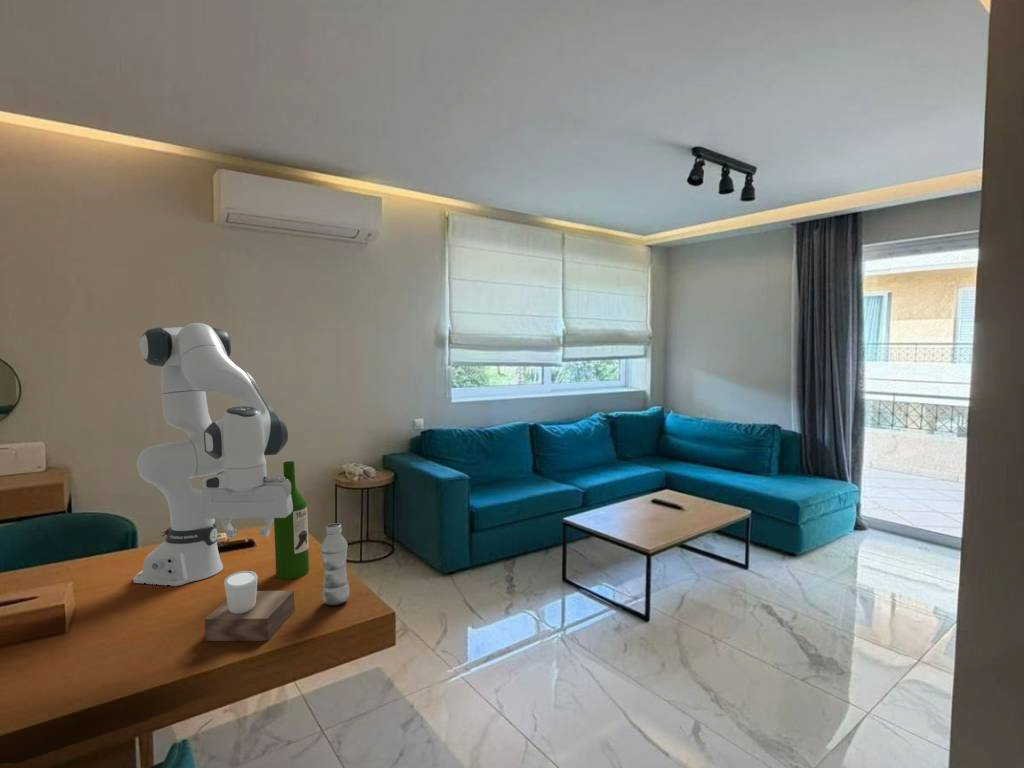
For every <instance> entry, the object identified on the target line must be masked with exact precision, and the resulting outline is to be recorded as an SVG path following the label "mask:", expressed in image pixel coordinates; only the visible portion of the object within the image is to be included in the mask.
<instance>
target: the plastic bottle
mask: <svg viewBox="0 0 1024 768" xmlns="http://www.w3.org/2000/svg"><path fill="white" fill-rule="evenodd" d="M342 532H343V531H342V523H339V522H338V523H337V522H335V523H333V522H332V523H329V524H327V525H326V526H325V535H326V536H325V538H324V539H323V540H322V542H321V544H320V554H321V559H322V565H323V585H322V601H323V602H324V604H326V605H329V606H338V605H341V604H343V603H345V602H347V601H348V599H349V597H350V585H349V582H348V576H347V554H348V553H347V552H348V541H347V539H346V538H345V537H344V536H343V535H342V534H341V533H342Z"/></svg>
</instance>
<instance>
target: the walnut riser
mask: <svg viewBox="0 0 1024 768" xmlns="http://www.w3.org/2000/svg"><path fill="white" fill-rule="evenodd" d="M294 612H295V590H257V592H256V604H255V606H254V607H253V608H252V609H251V610H249V611H247V612H244V613H237V614H236V613H231V612H230V611H229V609H228V604H227V599H226V600H225V601H224V602H223V603H222V604H221V605H219V606H218V607H216V609H215V610H213V611H212V612H211V613H210V614H209V615H208V616H206V618H204V635H205V639H204V640H205V642H236V641H237V642H238V641H239V642H240V641H243V642H247V641H248V642H249V641H255V642H256V641H262V642H264V641H270V640H271V639H272V637H273V636H274V635H275V634H276V633H277V631H278V630H279V629H280V628H281V626H282V625H283V624H284V623H285V622H286V621H287V620H288V619H289V618H290V616H292V615H293V613H294Z"/></svg>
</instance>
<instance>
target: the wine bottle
mask: <svg viewBox="0 0 1024 768" xmlns="http://www.w3.org/2000/svg"><path fill="white" fill-rule="evenodd" d="M282 465H283V477H284V478H285V479H287V480H289V481H290V482H291V497H292V503H293V511H292V512H291V514H290V515H288V516H287V517H285V518H274V521H273V527H274V528H273V530H274V551H275V552H274V555H275V558H274V559H275V575H276V577H277V579H280V580H294V579H293V578H295V579H298V578H297V577H299V578H301V577H300V576H302V577H304V576H306V575H307V574H309V572H308V571H310V554H309V529H308V527H309V526H308V525H309V524H308V523H309V522H308V505H307V501H306V500H305V498H304V497H303V495H302V494H301V493H300V491H299V490H298V488H297V486H296V471H295V461H292V460H291V461H290V460H289V461H284V462H283V463H282ZM284 482H285V481H284ZM306 573H307V574H306ZM305 574H306V575H305ZM303 575H304V576H303Z"/></svg>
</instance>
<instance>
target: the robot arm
mask: <svg viewBox="0 0 1024 768" xmlns="http://www.w3.org/2000/svg"><path fill="white" fill-rule="evenodd" d="M139 349H140V352H141V353H140V354H141V355H142V358H143V359H144V362H146V363H147V364H149V365H150V366H156V367H162V368H161V376H160V391H161V393H160V394H161V403H162V414H163V420H164V421H165V423H166V424H167V425H169V427H170V426H171V427H173V428H174V429H178V430H182V431H184V432H185V433H186V434H187V436H188V440H182V441H174V442H173V441H172V442H165V443H164V442H163V443H161V444H155V445H153V446H150V447H146V448H144V449H143V450H142V451H141V452H140V454H139V455H138V457H137V461H136V470H137V473H138V475H139V476H140V478H141V479H142V480H143V481H145V482H147V483H149V484H150V485H153V486H155V487H156V488H157V489H158V490H160V491H161V493H162V494H163V495H164V498H165V499H166V501H167V505H168V509H169V517H170V527H168V528H167V529H165V531H162V532H161V534H162V535H161V537H165V539H164V541H163V542H162V543H161V544H159V545H158V546H157V547H156V548H154V549H153V550H152V551H151V552H150V553H148V554H147V555H146V556H145V558H144V561H143V563H142V564H143V565H142V570H141V571H139V572H138V573H137V574H136V575H134V577H133V580H132V581H133V583H134V584H144V583H146V585H156V584H157V586H158V585H159V586H167V585H170V586H169V587H177V586H182V585H185V584H188V583H191V582H195V581H200V580H204V579H207V578H211V577H213V576H215V575H217V574H218V573H220V572H222V570H223V569H224V564H223V562H222V559H221V557H220V556H221V555H220V552H219V549H218V547H219V546H218V524H217V521H216V520H220V524H221V526H222V527H223V528H224V531H225V535H226V538H235V537H236V536H237V534H238V533H237V527H233V525H232V523H231V521H232V519H234V520H235V519H239V520H240V519H263V522H264V523H265V526H264V527H262V528H260V529H259V533H260V534H259V537H260V538H268V537H269V536H270V534H271V529H270V528H271V527H272V525H273V524H274V518H285V517H287V516H288V515H290V514H291V512H292V511H293V503H292V497H291V482H290V481H289V480H287V479H285V478H284V476H278V477H276V476H267V475H268V473H267V471H268V469H267V459H266V457H265V456H275V455H277V454H279V452H282V450H283V449H284V447H285V446H286V445H287V443H288V441H289V432H288V428H287V425H286V424H285V422H284V420H283V419H282V418H281V417H280V416H279V415H278V414H277V413H276V411H275V410H274V409H273V407H272V405H271V404H270V403H269V401H268V400H267V398H266V395H264V393H263V392H262V390H261V389H260V386H259V385H258V384H257V382H256V381H255V379H254V378H253V377H252V375H251V374H250V372H248V371H246V370H245V369H242V368H241V367H240V366H238V365H237V364H236V363H235V362H234V361H233V360H231V358H230V356H231V353H232V352H231V351H232V342H231V339H230V335H229V333H227V332H226V330H225V329H223V328H222V329H221V328H216V327H211V325H209V324H206V323H202V322H194V323H189V324H186V325H185V326H184V327H183V326H180V327H179V326H178V327H165V328H162V327H154V328H149V329H147V330H146V331H144V333H143V334H142V338H141V339H140V343H139ZM207 392H208V393H211V394H212V393H213V394H220V395H225V396H228V397H232V398H235V399H237V400H239V401H241V402H242V403H243V404H244V405H242V406H234V407H233V406H232V407H229V408H227V409H226V410H224V412H223V417H222V418H220V419H219V420H216V421H212V419H211V416H210V413H209V407H208V400H207V399H208V398H207V394H206V393H207ZM207 476H208V477H207ZM200 477H201V478H202V477H206V478H204V479H202V481H201V488H202V489H201V488H197V487H193V485H192V481H191V480H192V479H195V478H200ZM284 481H285V482H284Z"/></svg>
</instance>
